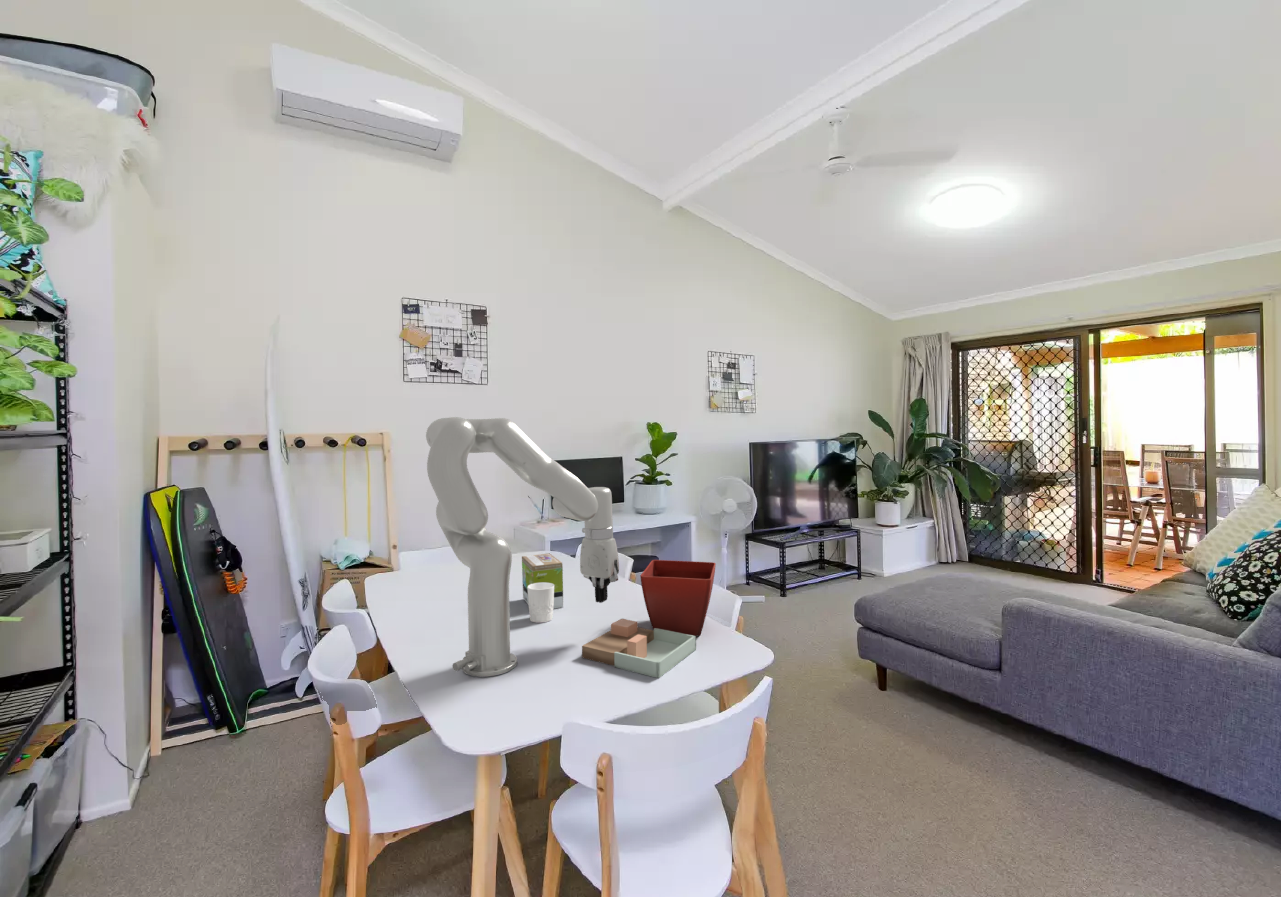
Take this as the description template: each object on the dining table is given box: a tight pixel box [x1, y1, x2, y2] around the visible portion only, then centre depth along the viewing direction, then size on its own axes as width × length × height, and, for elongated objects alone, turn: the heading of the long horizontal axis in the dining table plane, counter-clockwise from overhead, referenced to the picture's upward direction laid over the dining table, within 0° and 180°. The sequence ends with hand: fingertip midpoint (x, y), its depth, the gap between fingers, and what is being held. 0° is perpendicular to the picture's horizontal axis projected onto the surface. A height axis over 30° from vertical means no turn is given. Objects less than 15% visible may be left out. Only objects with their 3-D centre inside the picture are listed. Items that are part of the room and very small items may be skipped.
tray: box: [614, 628, 697, 679], centre depth 139 cm, size 19×12×4 cm, turn 149°
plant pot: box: [640, 559, 717, 637], centre depth 161 cm, size 19×19×17 cm
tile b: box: [610, 618, 639, 637], centre depth 149 cm, size 5×5×2 cm
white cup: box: [527, 582, 554, 624], centre depth 169 cm, size 8×8×10 cm
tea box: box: [521, 553, 564, 610], centre depth 184 cm, size 15×10×15 cm, turn 25°
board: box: [581, 626, 654, 667], centre depth 145 cm, size 18×10×3 cm, turn 149°
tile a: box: [627, 634, 647, 658], centre depth 137 cm, size 5×5×2 cm
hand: (601, 601), depth 153 cm, fingers closed
